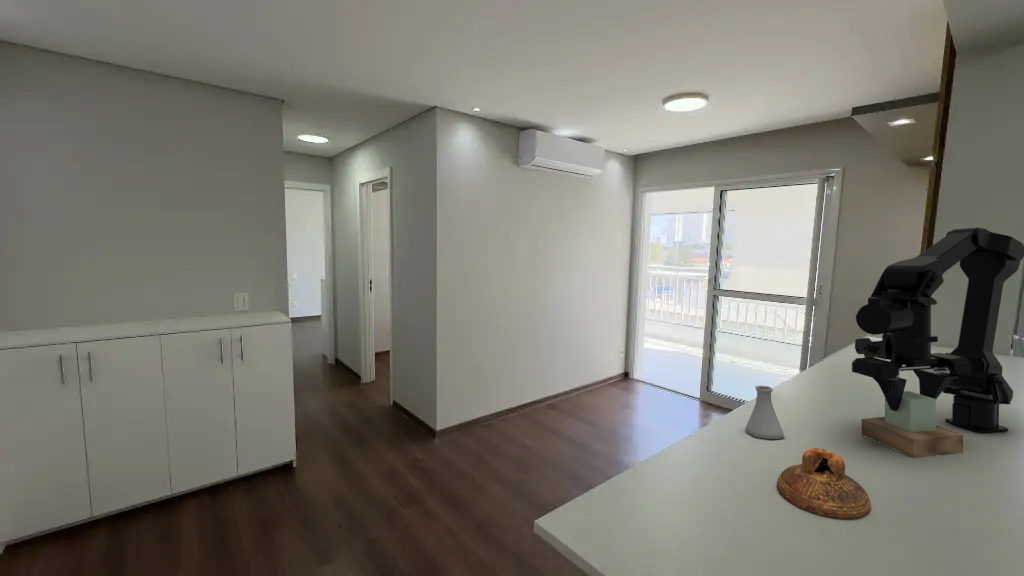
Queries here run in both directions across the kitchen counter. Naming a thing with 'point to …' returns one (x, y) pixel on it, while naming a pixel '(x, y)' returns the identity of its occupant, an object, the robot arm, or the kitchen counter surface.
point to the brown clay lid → (823, 486)
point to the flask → (764, 416)
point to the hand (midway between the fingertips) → (909, 409)
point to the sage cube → (913, 413)
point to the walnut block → (913, 439)
